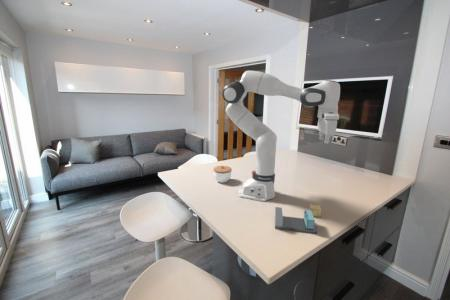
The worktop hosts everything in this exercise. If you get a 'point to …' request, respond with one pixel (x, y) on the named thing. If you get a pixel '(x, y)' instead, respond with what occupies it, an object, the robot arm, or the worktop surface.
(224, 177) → the lidded bowl
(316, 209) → the tan short block
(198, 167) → the worktop surface
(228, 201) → the worktop surface
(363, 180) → the worktop surface
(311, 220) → the block
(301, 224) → the press bed
